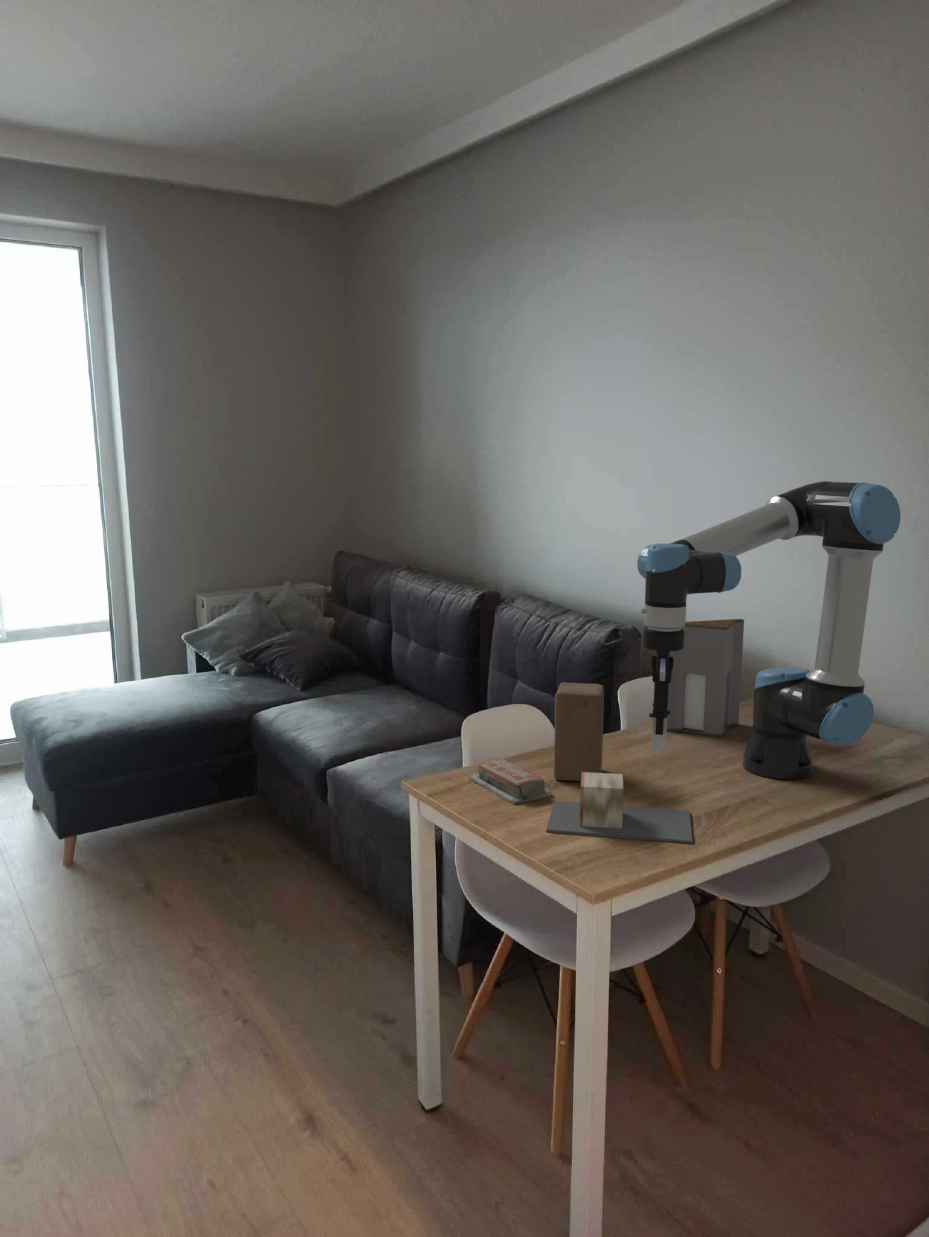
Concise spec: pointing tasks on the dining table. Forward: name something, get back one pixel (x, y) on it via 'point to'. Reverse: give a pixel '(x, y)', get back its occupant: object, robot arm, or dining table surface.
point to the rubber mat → (626, 823)
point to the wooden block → (578, 730)
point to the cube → (601, 800)
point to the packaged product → (510, 781)
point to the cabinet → (706, 678)
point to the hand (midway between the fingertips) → (658, 749)
